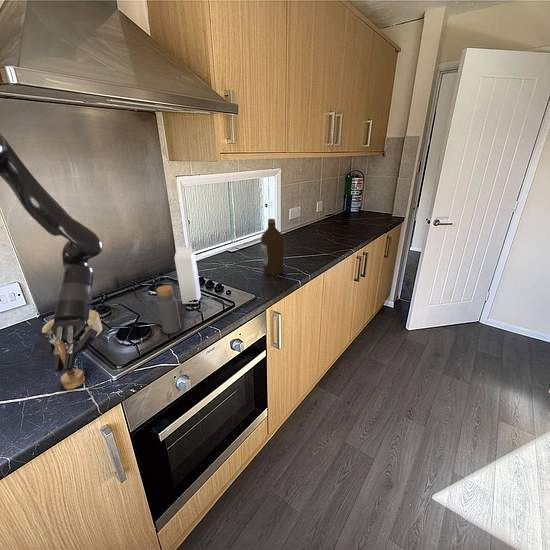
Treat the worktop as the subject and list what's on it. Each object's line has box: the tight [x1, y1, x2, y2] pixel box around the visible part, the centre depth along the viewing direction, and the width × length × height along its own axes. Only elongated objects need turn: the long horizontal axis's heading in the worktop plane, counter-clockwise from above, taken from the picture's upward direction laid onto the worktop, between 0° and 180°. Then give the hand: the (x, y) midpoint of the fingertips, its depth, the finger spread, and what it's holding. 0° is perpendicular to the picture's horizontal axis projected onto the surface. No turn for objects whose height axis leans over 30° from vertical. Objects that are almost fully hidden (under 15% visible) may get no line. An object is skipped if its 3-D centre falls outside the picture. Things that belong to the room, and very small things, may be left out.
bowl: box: [41, 309, 104, 350], centre depth 94 cm, size 15×15×6 cm
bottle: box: [155, 284, 182, 335], centre depth 94 cm, size 6×6×15 cm
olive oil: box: [260, 218, 285, 276], centre depth 136 cm, size 11×11×25 cm
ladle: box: [55, 340, 86, 390], centre depth 73 cm, size 5×5×13 cm
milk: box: [174, 246, 202, 305], centre depth 111 cm, size 6×6×22 cm
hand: (63, 370), depth 71 cm, fingers closed on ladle
